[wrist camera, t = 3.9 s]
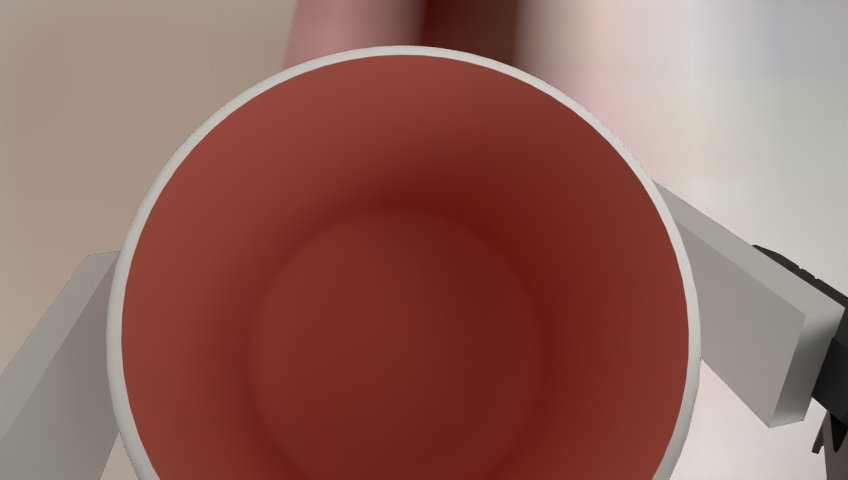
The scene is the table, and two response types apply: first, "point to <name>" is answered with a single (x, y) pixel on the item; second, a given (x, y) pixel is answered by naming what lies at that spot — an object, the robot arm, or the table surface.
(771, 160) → the table surface
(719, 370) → the robot arm
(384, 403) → the cup
